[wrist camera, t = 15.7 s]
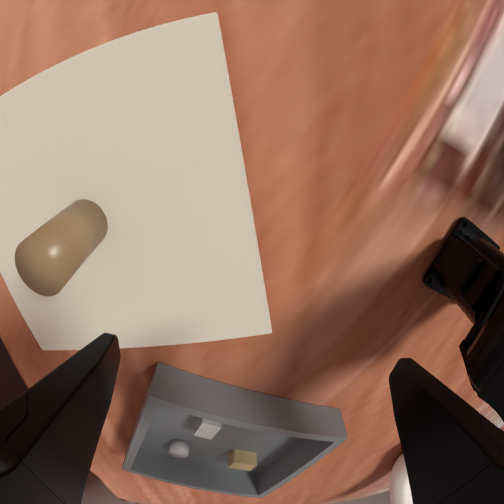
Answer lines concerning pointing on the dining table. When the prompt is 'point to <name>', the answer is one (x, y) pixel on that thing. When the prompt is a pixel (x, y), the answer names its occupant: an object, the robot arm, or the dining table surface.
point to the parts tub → (226, 435)
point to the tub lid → (130, 196)
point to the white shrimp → (400, 483)
